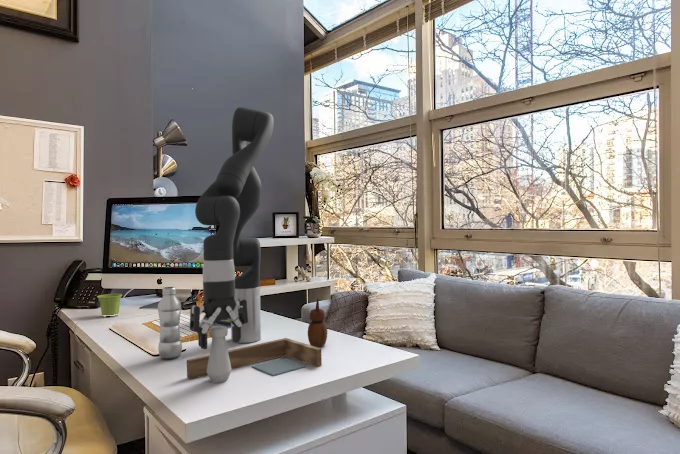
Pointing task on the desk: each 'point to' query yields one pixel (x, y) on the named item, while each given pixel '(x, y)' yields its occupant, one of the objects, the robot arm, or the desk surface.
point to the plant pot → (109, 303)
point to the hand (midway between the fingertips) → (220, 345)
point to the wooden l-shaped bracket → (260, 355)
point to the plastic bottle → (169, 324)
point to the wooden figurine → (317, 327)
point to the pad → (278, 366)
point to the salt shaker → (218, 355)
